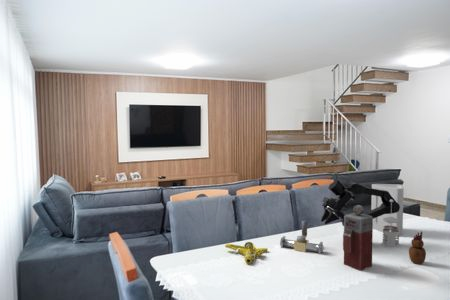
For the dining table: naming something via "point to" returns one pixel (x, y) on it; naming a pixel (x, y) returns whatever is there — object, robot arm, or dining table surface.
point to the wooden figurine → (417, 250)
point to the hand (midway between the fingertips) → (323, 222)
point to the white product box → (379, 223)
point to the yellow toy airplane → (247, 251)
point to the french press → (391, 236)
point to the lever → (303, 232)
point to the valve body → (301, 245)
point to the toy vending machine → (358, 239)
